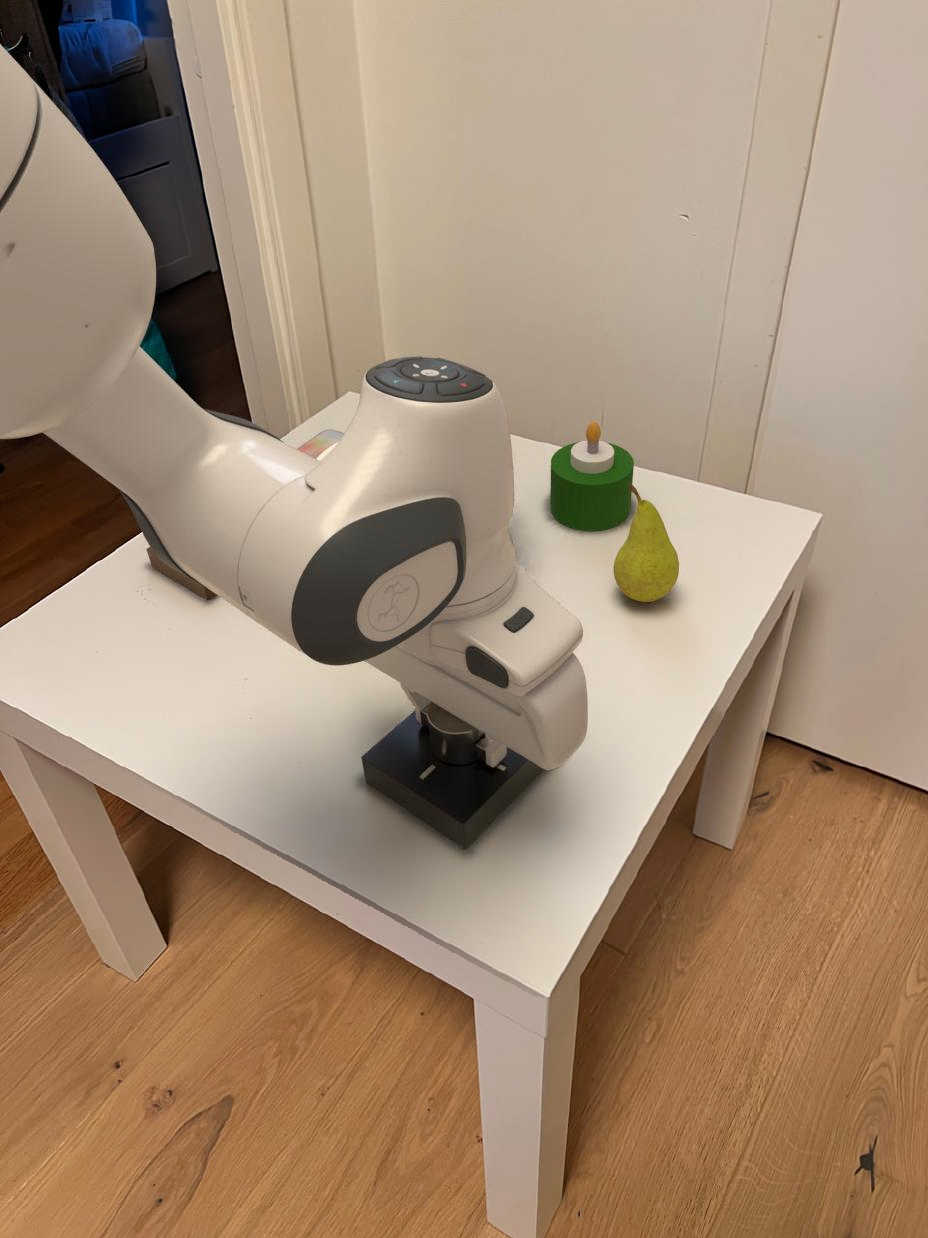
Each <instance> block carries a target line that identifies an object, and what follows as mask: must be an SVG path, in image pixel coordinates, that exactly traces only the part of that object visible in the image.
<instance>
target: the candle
mask: <svg viewBox="0 0 928 1238" xmlns="http://www.w3.org/2000/svg"><path fill="white" fill-rule="evenodd" d="M601 434H602V432H601V427H600V425H599V424H598V422H597V421H591V422H590V423H589V425H587V428H586V431H585V438H586V440H582V441H578V442H573V443H570V444H566V445H564V446H562V447H561V448H559V449H558V450H557V451H555V452H554V454H552V456H551V459H550V495H549V496H550V502H549V505H550V506H549V507H550V513H551V515H552V517H553V518H554V519H555V520H556V521H557V522H558V523H560V524H561V525H563V526H565V527H568V528H571V529H574V530H578V531H583V532H599V531H605V530H610V529H612V528H615V527H617V526H619V525H621V524H622V523H624V522H625V521H626V520H627V519H628V517H629V516H630V513H631V506H632V494H633V492H632V491H631V490H630V489H629V488H628V487H629V485H630V484H632V485H633V481H634V469H635V468H634V467H635V462H634V458H633V456H632V455H631V454H630V453H629V452H628V451H627V450H626V449H625V448H623V447H621V446H619V445H617V444H614V443H610V442H606V441H602V440H600V438H601Z"/></svg>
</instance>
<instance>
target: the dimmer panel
mask: <svg viewBox="0 0 928 1238" xmlns="http://www.w3.org/2000/svg"><path fill="white" fill-rule="evenodd" d="M360 759H361V766H362V769H363V775H364V779H365V783H366V784H367V785H369V786H370V787H372V788H373V789H374V790H375V791H377V792H379V793H380V794H382V795H383V796H385V797H386V798H388V799H390V801H393V802H394V803H396V804H397V805H398V806H400V807H401V808H403V809H405V811H407V812H409V813H410V814H412V815H413V816H415V817H416V818H417V819H419V820H420V821H422V822H423V823H424V824H426V825H427V826H429V827H431V828H433V829H434V830H435V831H437V832H438V833H440V834H441V835H443V836H444V837H446V838H447V839H448V840H450V841H452V842H453V843H454V844H456V845H457V846H459V847H460V848H462V849H463V850H465V851H466V850H468V848H469V847H470V846H472V844H473V843H474V842H475V841H476V840H477V839H478V838H479V837H480V836H481V835H482V834H483V833H484V832H485V831H486V830H487V829H488V828H489V827H490V825H492V824H493V823H494V821H496V819H498V817H500V816H501V814H503V812H504V811H505V810H506V809H507V808H508V807H509V806H510V805H511V804H512V803H513V802H514V801H515V800H516V799H517V798H518V797H519V796H520V794H522V793H523V792H524V790H525V789H526V788H528V786H529V785H530V784H531V783H532V782H533V781H534V780H535V779H536V778H537V777H538V776H539V775H540V774H541V773H542V772H543V771H544V770H545V769H543V768H541V767H539V766H538V765H536V764H535V763H533V762H531V761H530V760H528V759H526V758H525V757H523V756H522V755H520V754H518V753H517V752H515V751H513V750H512V749H510V748H508V747H507V753H506V755H505V757H504V759H503V760H502V761H501V762H499V763H498V764H497V765H496V766H495V767H493V768H492V767H490V766H489V765H487V764H486V763H484V762H483V761H481V760H480V759H478V760H476V761H475V762H472V763H469V764H465V765H451V764H448V763H445V762H443V761H441V760H439V759H438V758H437V757H436V756H435V755H434V754H433V752H432V750H431V746H430V738H429V729H428V727H427V726H425V725H423V724H421V723H420V722H418V721H417V719H416V712H415V710H413V711H412V712H411V713H410V714H409V715H408V716H406V717H405V718H404V719H403V720H402V721H400V723H398V724H397V725H396V726H395V727H393V729H392V730H390V731H389V732H388V733H387V734H386V735H384V736H383V738H381V739H380V740H379V741H378V742H376V743H375V744H374V745H373V746H372V747H370V748H369V749H368V750H367V751H366V752H365V753H364V754H362V755H361V757H360Z"/></svg>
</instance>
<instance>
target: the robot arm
mask: <svg viewBox="0 0 928 1238" xmlns="http://www.w3.org/2000/svg"><path fill="white" fill-rule="evenodd" d="M156 264H157V263H156V254H155V247H154V243H153V241H152V239H151V237H150V235H149V234H148V231H147V230H146V229H145V227H144V225H143V223H142V222H141V220H140V218H139V217H138V215H137V213H136V212H135V210H134V208H133V206H132V205H131V203H130V201H129V200H128V197H126V195H125V194H124V192H123V191H122V189H121V187H120V186H119V184H118V183H117V181H116V179H115V178H114V176H113V175H112V174H111V172H110V171H109V169H108V168H107V166H106V165H105V164H104V163H103V161H102V159H100V157H99V156H98V154H97V152H95V150H94V149H93V148H92V146H91V145H90V144H89V143H88V142H87V140H86V139H85V138H84V136H83V135H82V134H81V133H80V132H79V130H77V128H76V127H75V126H74V125H73V123H72V122H71V121H70V119H68V117H67V116H66V115H65V114H64V113H63V112H62V111H61V110H60V109H59V108H58V107H57V105H56V104H55V103H54V101H52V100H51V98H50V97H49V96H48V95H47V94H46V93H45V91H44V90H43V89H42V88H41V87H40V86H39V85H38V84H37V82H36V81H34V79H33V78H32V77H31V76H30V75H29V73H28V72H27V71H26V70H25V69H24V68H23V67H22V66H21V65H20V63H18V61H16V60H15V58H13V56H12V55H11V54H10V53H9V52H8V51H7V50H6V49H5V47H3V46H2V44H1V43H0V440H12V439H13V440H14V439H21V438H26V437H31V436H35V435H39V434H42V433H43V434H44V435H45V436H46V437H47V438H49V439H50V440H51V441H53V442H54V443H55V444H57V445H58V446H60V447H61V448H62V449H64V451H66V452H68V453H69V454H70V455H71V456H73V457H74V458H76V459H77V460H78V461H80V462H81V463H83V464H84V465H85V466H87V467H88V468H89V469H90V470H92V471H93V472H95V473H96V474H97V475H99V476H100V477H101V478H102V479H104V480H105V481H107V482H108V483H109V484H110V485H112V486H113V488H115V489H117V490H118V491H119V493H120V494H121V495H122V497H123V498H124V500H125V501H126V503H127V505H128V507H129V508H130V510H131V512H132V514H133V517H134V519H135V521H136V522H137V525H138V527H139V529H140V531H141V533H142V535H143V536H144V538H145V541H146V542H147V544H148V546H149V547H151V548H152V550H153V551H154V552H155V554H156V555H157V556H158V557H159V558H160V559H161V560H162V561H163V562H164V563H165V564H167V565H168V566H169V567H171V568H172V569H174V570H176V571H178V572H179V573H181V574H183V575H185V576H187V577H188V578H190V579H192V580H194V581H195V582H197V583H199V584H201V585H204V586H205V587H207V588H208V589H210V590H211V591H212V592H214V593H215V594H217V595H216V596H218V597H220V598H221V599H222V600H223V601H225V602H227V603H228V604H230V605H231V606H233V607H234V608H236V609H237V611H238V610H239V611H240V612H241V613H242V614H244V615H246V616H247V617H249V618H250V619H252V620H253V621H254V622H256V623H257V624H259V625H261V626H262V627H263V628H264V629H266V630H267V631H268V632H271V633H272V634H273V635H275V636H276V637H278V638H279V639H281V640H282V641H284V642H285V643H287V644H288V645H290V646H291V647H293V648H294V649H295V650H297V651H299V652H300V653H302V654H303V655H305V656H307V657H308V658H310V660H313V661H315V662H317V663H319V664H322V665H325V666H337V667H338V666H347V665H354V664H358V663H362V662H365V663H367V664H369V665H370V666H371V667H374V668H375V669H377V670H379V671H380V672H381V673H383V674H385V675H386V676H388V677H390V678H392V679H393V680H395V681H397V682H398V683H399V684H400V688H401V690H402V691H403V692H404V694H405V695H406V696H407V699H408V701H409V702H410V703H411V705H412V707H413V708H414V711H415V712H416V719H417V721H418V722H420V723H421V724H423V725H425V726H427V727H428V720H427V709H428V706H429V704H430V702H431V701H432V702H433V703H435V704H437V705H438V706H440V707H442V708H443V709H445V710H447V711H448V712H450V713H452V714H453V715H455V716H457V717H458V718H460V719H462V720H463V721H465V722H467V723H468V724H470V725H472V726H473V727H475V728H477V729H478V730H480V731H482V732H483V733H485V738H484V739H481V740H480V741H479V742H478V743H477V744H476V752H477V754H476V757H477V758H478V759H480V760H481V761H483V762H484V763H486V764H487V765H489V766H490V767H492V768H493V767H495V766H496V765H497V764H498V763H499V762H501V761H502V760H503V759H504V757H505V755H506V753H507V747H508V748H510V749H512V750H513V751H515V752H517V753H518V754H520V755H522V756H523V757H525V758H526V759H528V760H530V761H531V762H533V763H535V764H536V765H538V766H539V767H541V768H543V769H544V770H545V771H551V770H554V769H557V768H559V767H561V766H562V765H563V764H565V763H566V762H567V761H568V760H569V759H570V758H571V757H572V756H573V755H574V754H575V753H576V752H577V751H578V749H579V748H581V746H582V744H583V743H584V742H585V740H586V738H587V733H588V726H589V725H588V724H589V722H588V721H589V719H588V718H589V701H588V699H589V698H588V688H587V687H588V686H587V685H588V684H587V678H586V674H585V671H584V668H583V665H582V663H581V662H580V660H579V658H578V657H577V656H576V654H575V653H574V652H575V650H576V649H577V648H578V646H580V644H581V643H582V642H583V637H584V628H583V624H582V622H581V621H580V619H579V618H578V617H577V616H576V615H575V614H573V613H572V612H571V611H570V610H569V609H567V608H566V607H565V606H564V605H563V604H561V603H560V602H559V601H557V600H556V599H555V598H554V597H553V596H551V595H550V594H549V593H548V592H547V591H546V590H545V589H544V588H543V587H541V585H540V584H538V583H537V581H535V579H534V578H532V576H531V575H530V574H529V573H528V572H527V571H526V570H525V568H524V567H523V566H522V565H520V564H519V563H518V562H516V561H517V555H516V550H515V545H514V541H513V539H512V536H511V534H510V531H509V530H510V529H509V527H510V522H511V519H512V516H513V513H514V507H515V471H514V472H513V467H514V458H513V447H512V438H511V432H510V424H509V419H508V415H507V411H506V407H505V403H504V400H503V397H502V395H501V393H500V391H499V389H498V387H497V385H496V384H495V382H494V381H493V380H492V379H491V378H489V377H488V376H487V375H486V374H484V373H482V372H480V371H478V370H476V369H473V368H472V367H470V366H467V365H464V364H461V363H458V362H455V361H452V360H448V359H445V358H441V357H427V356H424V357H423V356H405V357H397V358H392V359H389V360H386V361H383V362H381V363H378V364H377V365H374V366H373V367H371V368H369V369H368V370H367V371H366V372H365V374H364V375H363V377H362V379H361V385H360V391H359V392H360V393H359V401H358V404H357V405H358V406H357V408H356V410H355V413H354V415H353V417H352V419H351V421H350V423H349V424H348V426H347V428H346V430H345V432H343V433H344V435H343V436H342V438H341V439H340V440H339V442H338V443H337V445H336V446H335V447H334V449H333V450H332V451H331V452H330V454H329V455H328V456H327V457H326V458H325V459H324V460H323V461H322V462H321V461H319V460H317V459H315V458H313V457H311V456H309V455H307V454H305V453H303V452H301V451H299V450H297V449H298V448H295V447H293V446H291V445H290V444H287V443H285V442H284V441H283V440H282V439H280V438H279V437H277V436H275V435H274V434H273V433H271V432H269V431H267V430H266V429H264V428H262V427H261V426H259V425H258V424H256V423H254V422H252V421H249V420H247V419H245V418H242V417H238V416H235V415H231V414H227V413H223V412H219V411H213V410H210V409H206V408H203V407H202V406H200V405H199V404H198V403H197V402H196V401H194V399H192V398H191V397H190V396H189V394H188V393H187V392H186V391H185V390H184V389H183V388H182V387H181V386H180V385H179V384H178V383H176V381H175V380H174V379H173V378H171V376H170V375H168V373H167V372H166V371H165V370H164V369H163V368H162V367H161V366H160V365H159V364H158V363H157V362H156V361H155V360H154V359H153V358H152V357H151V356H150V355H149V354H148V353H147V352H146V351H145V350H144V349H143V348H142V347H141V344H142V342H143V341H144V340H143V339H144V338H145V335H146V333H147V330H148V327H149V325H150V321H151V318H152V314H153V310H154V305H155V299H156V290H157V289H156V288H157V265H156Z"/></svg>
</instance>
